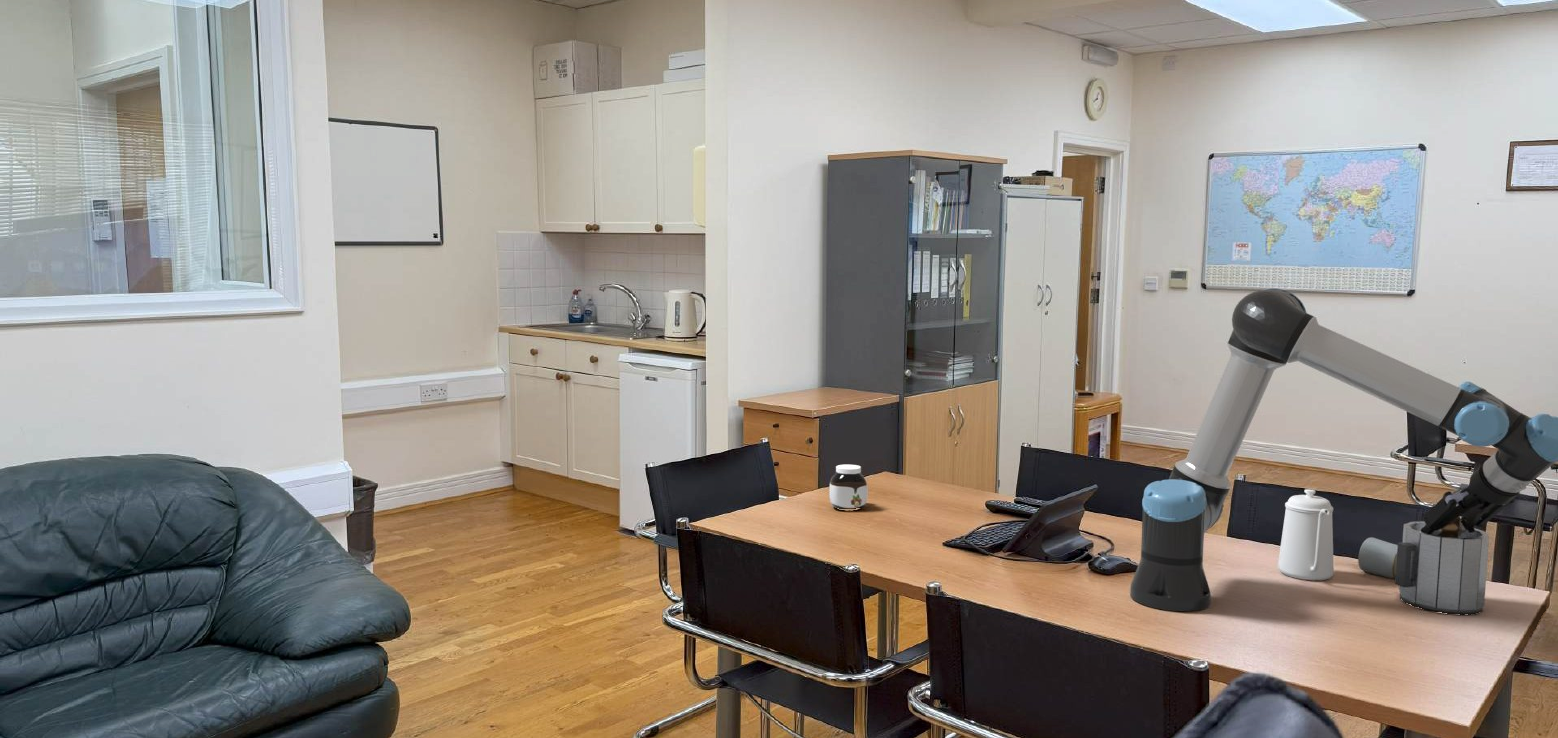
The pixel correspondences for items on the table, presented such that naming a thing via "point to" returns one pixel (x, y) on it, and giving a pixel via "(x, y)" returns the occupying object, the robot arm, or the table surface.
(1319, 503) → the coffeepot
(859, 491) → the spread jar
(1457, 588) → the grey panelled tankard
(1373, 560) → the ceramic mug
